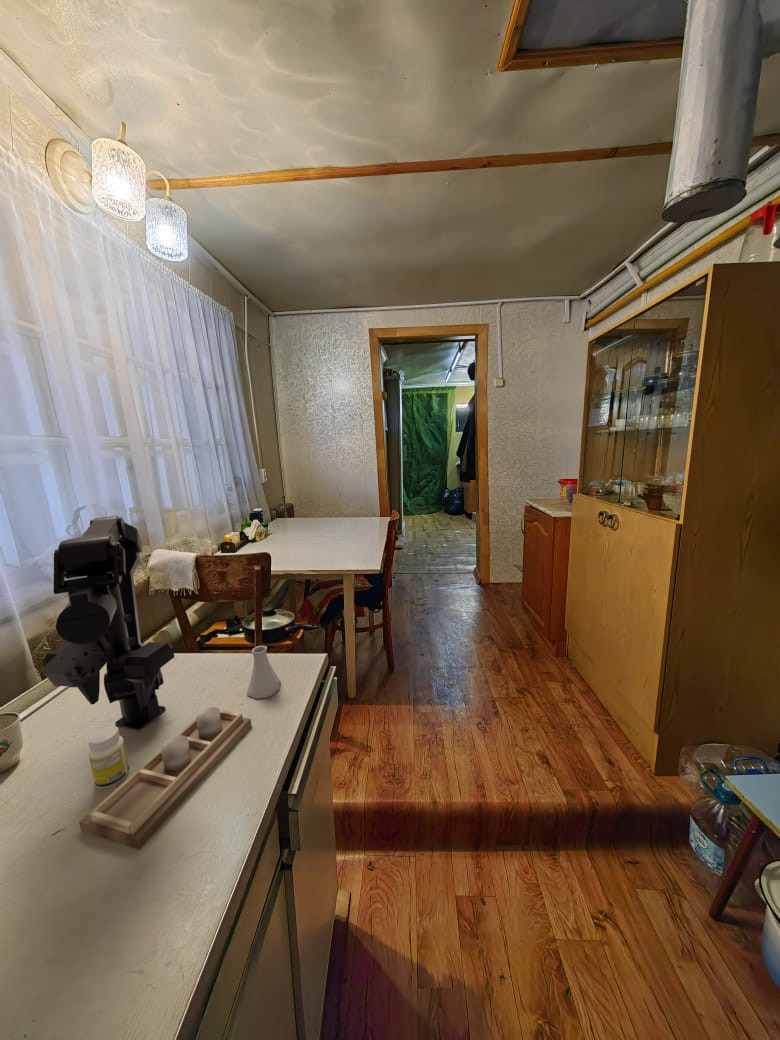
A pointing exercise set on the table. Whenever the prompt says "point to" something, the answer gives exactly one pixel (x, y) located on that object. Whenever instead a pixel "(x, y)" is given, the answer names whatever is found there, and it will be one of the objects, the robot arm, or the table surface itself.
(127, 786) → the socket tray
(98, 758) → the supplement bottle
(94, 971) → the table surface
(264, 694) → the flask
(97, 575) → the robot arm
